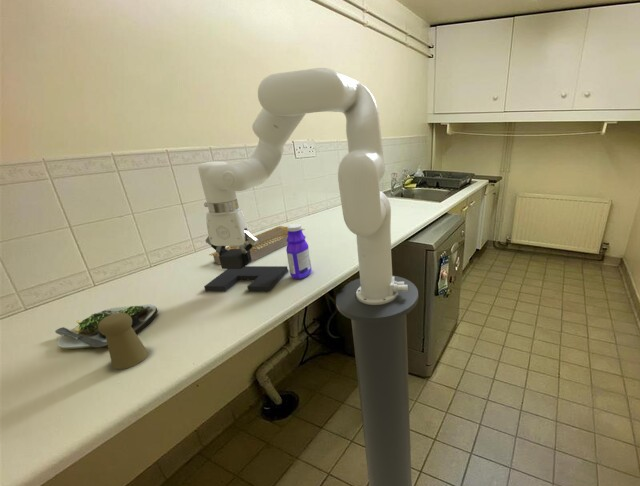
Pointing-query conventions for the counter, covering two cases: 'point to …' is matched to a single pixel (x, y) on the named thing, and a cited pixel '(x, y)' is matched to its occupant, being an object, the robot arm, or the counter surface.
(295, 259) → the bottle
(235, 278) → the base pad
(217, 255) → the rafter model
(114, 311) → the salad plate
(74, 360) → the counter surface
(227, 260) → the black square block
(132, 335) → the cork
